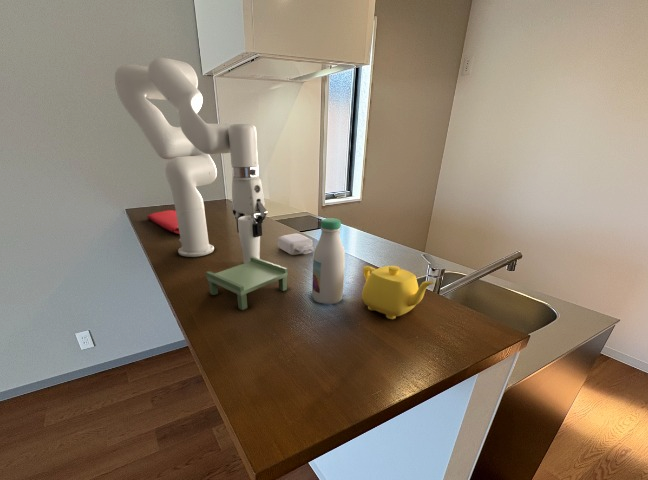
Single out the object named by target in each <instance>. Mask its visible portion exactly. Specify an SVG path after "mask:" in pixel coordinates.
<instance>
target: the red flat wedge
mask: <svg viewBox="0 0 648 480" xmlns="http://www.w3.org/2000/svg"><path fill="white" fill-rule="evenodd" d="M146 217H147V219H148V220H150V221H152V222H153V223H155V224H156V225H158V226H160V227H161V228H163V229H165V230H166V231H169V232H171V233H174V234H178V235H180V233H179V227H178V221H177V216H176V210H171V209H170V210H163V211H162V210H161V211H157V212H153V213H150V214H147V216H146Z"/></svg>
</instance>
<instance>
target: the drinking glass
mask: <svg viewBox="0 0 648 480" xmlns="http://www.w3.org/2000/svg"><path fill="white" fill-rule="evenodd" d="M257 218H258V217H257V215H256V219H257ZM253 224H254V222H253V219H252V217H251V215H245V216H242V217H239V218H238V231H239V233H238V236H239V243H240V249H241V254H242V261H243V262H242V264H244V263H247V262H250V261H251V260H250V257H256V258H259V259H261V258H260V257H261V236H259V237H253V226H252V225H253Z"/></svg>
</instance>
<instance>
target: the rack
mask: <svg viewBox="0 0 648 480" xmlns="http://www.w3.org/2000/svg"><path fill="white" fill-rule="evenodd" d="M250 260H251V261H250V262H247V263H241V264H238V265H236V266H233V267H230V268H227V269H225V270H221V271H218V272H213V271H210V270H208V271H206V272H205V275H206V276H205V277H206V280H207V281H208V287H209V294H210V295H212V296H216V295H218V294H219V288H218V286H220V287H221V288H223V289H225V290H228V291H230V292H232V293H234V294H236V296H237V307H238V309H239V310H241V311H244V310H246V309H248V297H247V294H248V293H251V292H254V291H256V290H259V289H260V288H263V287H265V286H268V285H270V284H272V283H275V282H277V281H278V290H279V291H281V292H285V291H287V290H288V278H287V277H288V276H289V273H288V272H289V269H288V267H285V266H282V265H280V264H276V263H274V262H270V261H268V260H264V259H262V258H260V259H259V258H256V257H250Z"/></svg>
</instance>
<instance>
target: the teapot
mask: <svg viewBox="0 0 648 480" xmlns="http://www.w3.org/2000/svg"><path fill="white" fill-rule="evenodd" d="M362 275H363V277H364V280H365V283H364V285H363V287H362V288H363V289H362V292H361V299H362V301H363V303H364V304H365V305H366V306H367V309H368V310H369V311H376V312H378V313H380V314H383V315H385V318H387V319H390V320H394V319H396V317H401V316H403V315H405V314H408V313H409V312H410V311H412V310H413V309H415V307H416V306H417V305H419V304H420V303H421V301H422V300H423V298H424V296H425V293H426V289H428V287H429V286H430V285H433V284H436V281H431V280H426V281H423V282H422V283H420V285H419V283H418V281H417V275H416V274H414V273H413V272H411V271H408V270H406V269H404V268H401V267H399V266H397V265H384V266H381V267H379V268H375V267H373V266H370V265H365V266H363V268H362Z"/></svg>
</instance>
